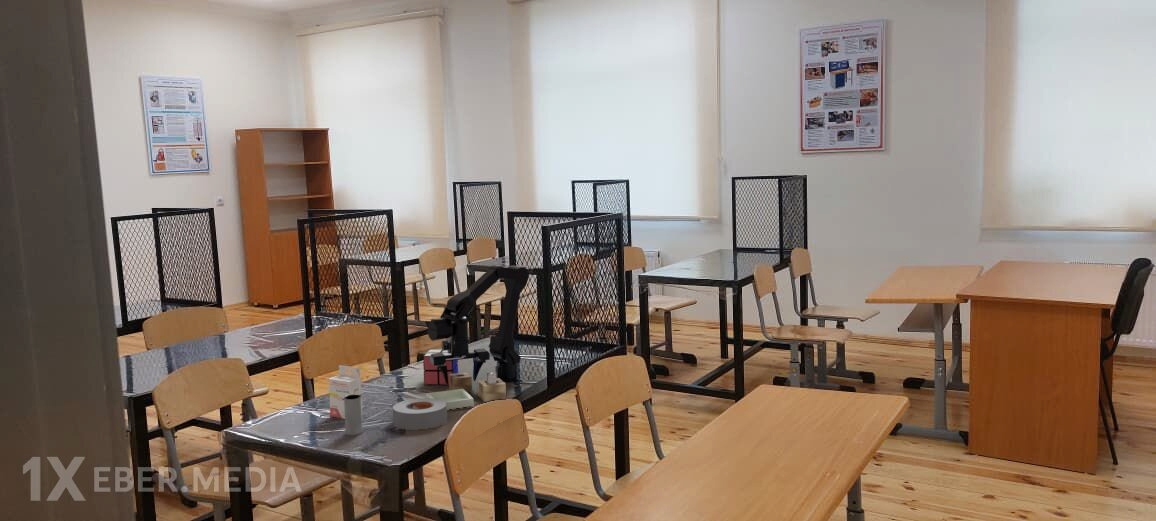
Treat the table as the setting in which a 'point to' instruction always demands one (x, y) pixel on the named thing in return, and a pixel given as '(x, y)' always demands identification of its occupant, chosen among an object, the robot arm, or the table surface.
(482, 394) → the bore block
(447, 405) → the tray
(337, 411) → the ink cartridge box
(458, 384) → the block
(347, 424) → the grey tall cylinder
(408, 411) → the tape roll
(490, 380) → the pin
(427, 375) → the puzzle cube
